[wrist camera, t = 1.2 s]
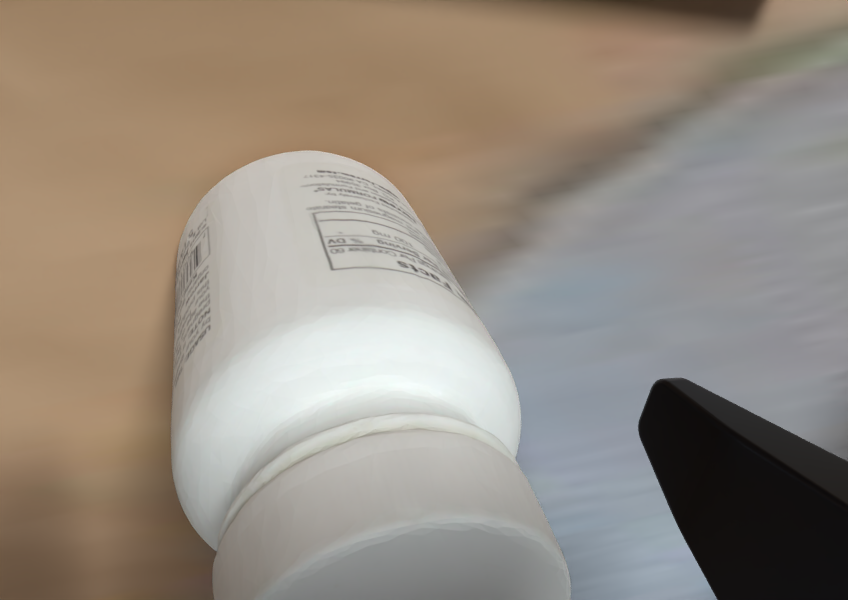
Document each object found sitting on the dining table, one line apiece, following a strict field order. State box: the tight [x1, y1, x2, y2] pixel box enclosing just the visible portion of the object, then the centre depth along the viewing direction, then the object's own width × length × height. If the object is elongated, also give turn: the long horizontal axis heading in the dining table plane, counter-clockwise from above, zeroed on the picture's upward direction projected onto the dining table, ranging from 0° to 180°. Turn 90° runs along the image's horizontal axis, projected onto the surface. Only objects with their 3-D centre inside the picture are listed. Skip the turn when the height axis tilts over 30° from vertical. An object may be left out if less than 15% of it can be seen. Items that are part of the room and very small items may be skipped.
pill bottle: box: [171, 150, 571, 600], centre depth 10 cm, size 4×4×8 cm
